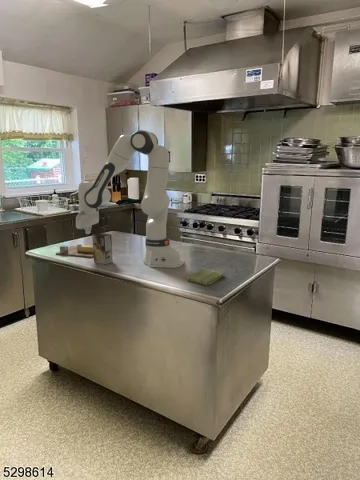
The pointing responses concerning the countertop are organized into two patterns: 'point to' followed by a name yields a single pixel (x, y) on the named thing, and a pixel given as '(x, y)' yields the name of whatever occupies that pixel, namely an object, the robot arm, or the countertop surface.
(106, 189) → the robot arm
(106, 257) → the coffee box
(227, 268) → the countertop surface
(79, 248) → the bar
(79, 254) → the board
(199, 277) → the washcloth
